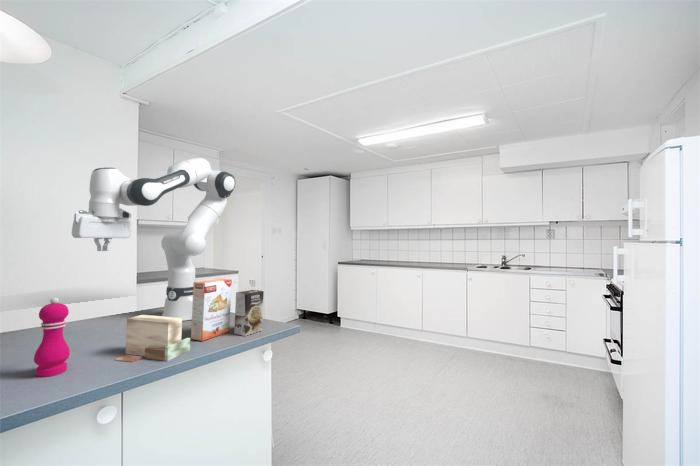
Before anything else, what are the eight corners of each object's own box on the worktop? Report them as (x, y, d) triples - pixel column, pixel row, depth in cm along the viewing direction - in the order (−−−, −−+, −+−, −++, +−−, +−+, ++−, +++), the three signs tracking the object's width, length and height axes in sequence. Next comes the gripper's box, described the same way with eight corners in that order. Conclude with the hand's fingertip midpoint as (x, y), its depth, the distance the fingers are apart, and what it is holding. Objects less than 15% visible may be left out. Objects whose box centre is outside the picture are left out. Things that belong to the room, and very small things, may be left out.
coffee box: (245, 336, 126) (246, 293, 126) (233, 333, 129) (235, 291, 129) (263, 331, 134) (264, 290, 134) (251, 328, 137) (252, 289, 137)
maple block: (141, 347, 111) (142, 314, 111) (180, 352, 108) (182, 318, 108) (125, 354, 105) (126, 318, 105) (167, 358, 102) (168, 322, 102)
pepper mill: (67, 374, 89) (70, 298, 89) (30, 380, 84) (33, 301, 85) (70, 365, 94) (73, 294, 95) (35, 370, 90) (38, 296, 91)
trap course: (143, 341, 117) (144, 329, 117) (196, 346, 113) (197, 334, 113) (98, 358, 100) (98, 344, 100) (158, 365, 96) (159, 351, 96)
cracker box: (202, 342, 118) (205, 282, 118) (190, 339, 120) (192, 281, 121) (230, 332, 131) (232, 278, 131) (218, 330, 133) (220, 277, 134)
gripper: (82, 209, 109) (81, 252, 109) (135, 214, 129) (133, 250, 129) (67, 209, 110) (65, 251, 110) (121, 214, 130) (119, 249, 130)
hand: (102, 251), depth 119 cm, fingers closed
